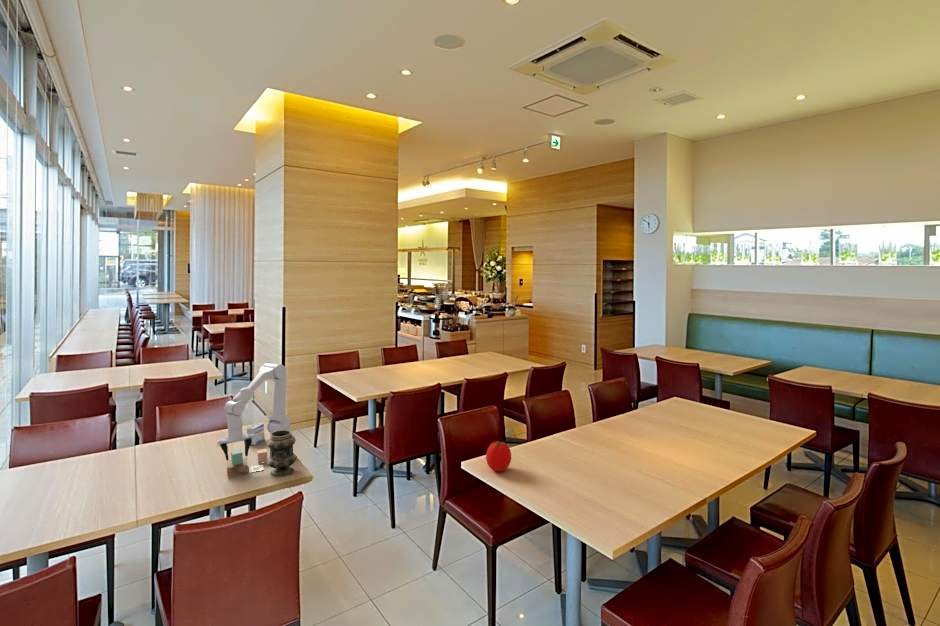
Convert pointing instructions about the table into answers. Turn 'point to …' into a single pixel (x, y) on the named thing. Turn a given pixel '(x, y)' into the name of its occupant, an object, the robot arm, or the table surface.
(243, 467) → the walnut block
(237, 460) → the teal block
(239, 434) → the robot arm
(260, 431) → the medicine box
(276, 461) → the apothecary jar
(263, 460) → the terracotta block
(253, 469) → the card
